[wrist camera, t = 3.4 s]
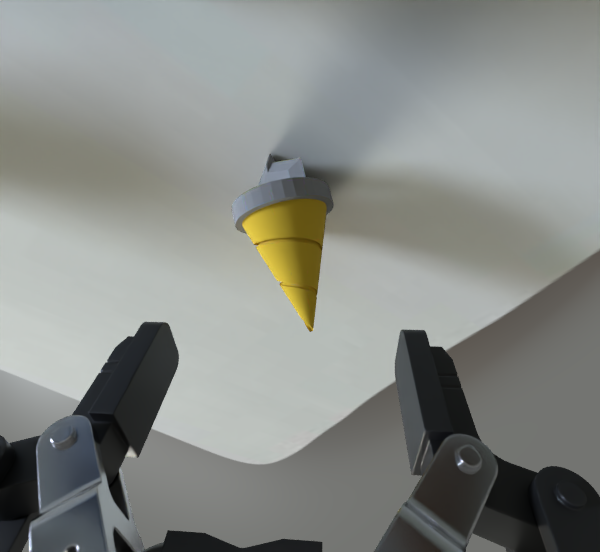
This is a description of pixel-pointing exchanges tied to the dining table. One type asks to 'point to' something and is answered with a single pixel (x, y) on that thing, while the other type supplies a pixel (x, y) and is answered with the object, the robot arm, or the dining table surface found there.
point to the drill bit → (288, 228)
